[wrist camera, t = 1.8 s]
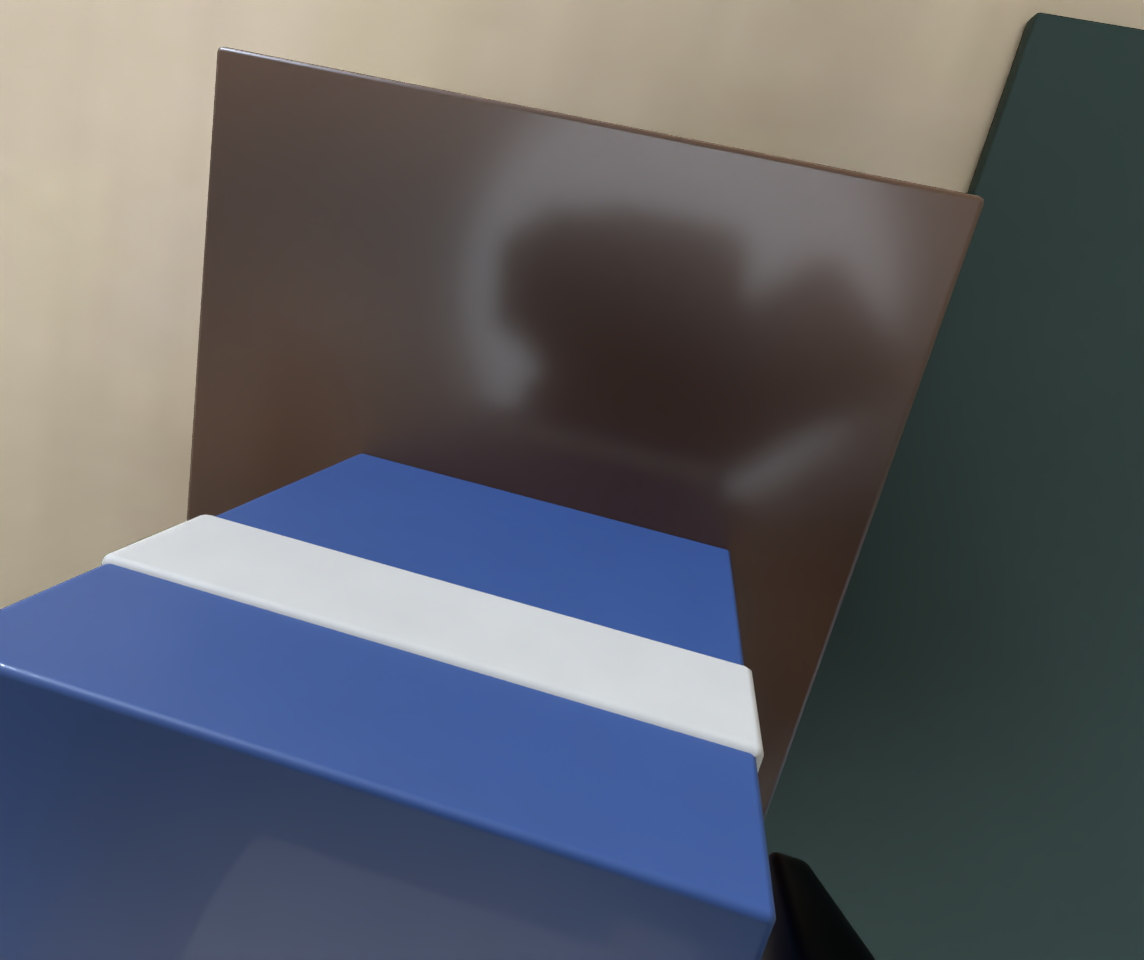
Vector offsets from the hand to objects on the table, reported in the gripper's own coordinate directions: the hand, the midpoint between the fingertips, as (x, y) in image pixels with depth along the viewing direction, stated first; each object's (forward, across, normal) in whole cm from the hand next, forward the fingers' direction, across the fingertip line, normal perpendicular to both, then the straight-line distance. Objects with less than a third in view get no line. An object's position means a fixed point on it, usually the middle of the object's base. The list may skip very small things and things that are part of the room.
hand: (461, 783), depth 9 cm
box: (+1, 0, 0) cm, 1 cm away
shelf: (+7, 0, 0) cm, 7 cm away
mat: (+7, -10, -2) cm, 13 cm away
